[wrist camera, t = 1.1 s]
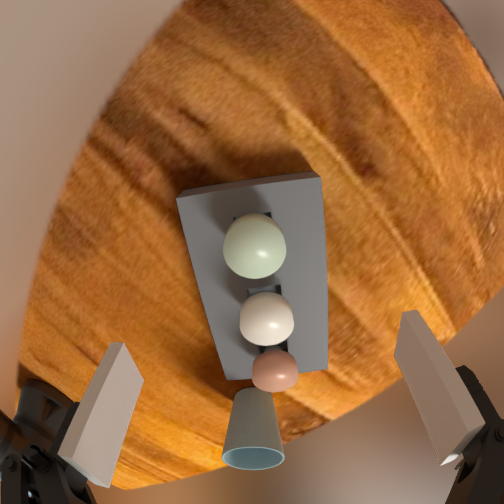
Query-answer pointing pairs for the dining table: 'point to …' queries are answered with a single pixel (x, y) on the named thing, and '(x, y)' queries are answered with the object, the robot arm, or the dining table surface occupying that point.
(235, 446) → the cup
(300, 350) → the gray rectangular slab
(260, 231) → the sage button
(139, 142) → the dining table surface
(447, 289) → the dining table surface
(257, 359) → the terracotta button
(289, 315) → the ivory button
